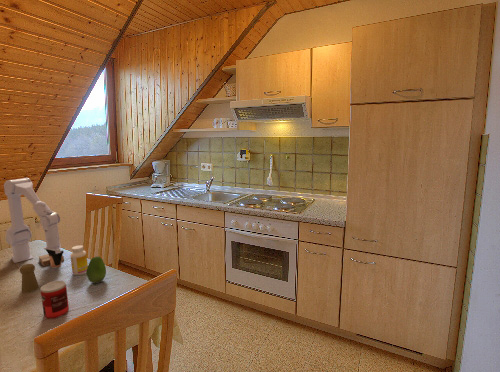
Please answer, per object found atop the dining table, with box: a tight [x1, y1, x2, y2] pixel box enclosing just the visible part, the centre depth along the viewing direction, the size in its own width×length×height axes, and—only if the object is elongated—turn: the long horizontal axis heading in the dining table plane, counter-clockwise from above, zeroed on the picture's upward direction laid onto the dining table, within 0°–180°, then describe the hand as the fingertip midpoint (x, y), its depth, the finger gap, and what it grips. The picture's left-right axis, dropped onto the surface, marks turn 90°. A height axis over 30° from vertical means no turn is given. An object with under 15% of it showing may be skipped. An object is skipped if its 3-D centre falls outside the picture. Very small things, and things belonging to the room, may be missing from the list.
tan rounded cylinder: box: [49, 256, 62, 269], centre depth 148 cm, size 5×5×6 cm
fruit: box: [85, 256, 107, 284], centre depth 131 cm, size 8×8×12 cm
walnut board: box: [38, 253, 65, 267], centre depth 154 cm, size 9×9×2 cm
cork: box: [19, 263, 40, 294], centre depth 126 cm, size 6×6×11 cm
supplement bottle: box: [70, 244, 89, 276], centre depth 140 cm, size 7×7×13 cm
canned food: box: [39, 280, 70, 319], centre depth 109 cm, size 8×8×11 cm
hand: (56, 263), depth 148 cm, fingers open, 6 cm apart
